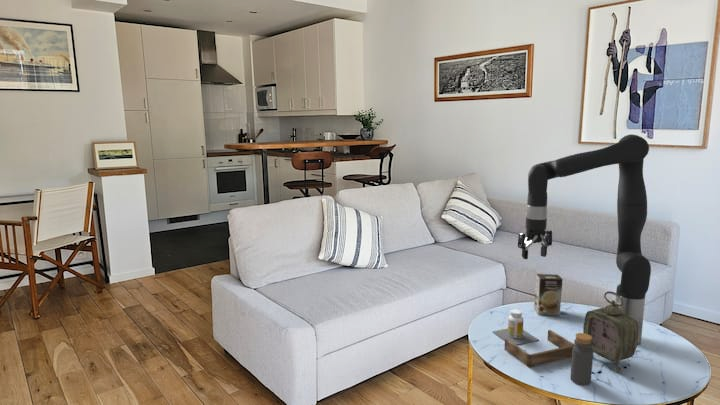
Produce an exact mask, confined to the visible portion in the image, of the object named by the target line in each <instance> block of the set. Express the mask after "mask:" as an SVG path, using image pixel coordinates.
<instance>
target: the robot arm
mask: <svg viewBox="0 0 720 405" xmlns="http://www.w3.org/2000/svg"><path fill="white" fill-rule="evenodd" d="M649 152H650V145H649V143H648V141H647V140H646V139H645V138H644V137H642V136H641V135H637V134H626V135H625V136H623V137H622V138H620V139H619V141H618V142H616V143H614V144H611V145H609V146H606V147H603V148H600V149H596V150H589V151H584V152H579V153H574V154H570V155H566V156H563V157H560V158H558V159H555V160H549V161H545V162H540V163H537V164H534V165H532V167H531V168H530V169H529V171H528V174H527V184H528V185H527V188H528V190H527V191H528V193H527V200H526V201H527V202H526V204H527V205H526V210H525V230H526V231H525V232H518V239H517V248H519V249H521V257H522V259H524V260H528V258H529V248H530V247H531V246H532V245H533V244H536V243H537V244H540V256H541V257H543V258H545V257H546V256H547V255H548V253H547V252H548V248H549V246H552V245H553V231H552V230H550V229H547V227H548V224H547V223H548V191H547V190H548V181H549V180H552V179H556V178H565V177H569V176H573V175H577V174H579V173H584V172H587V171H588V172H589V171H590V170H594V169H599V168H602V167H606V166H608V167H609V166H613V165H618V173H619V174H618V175H619V176H618V185H617V199H616V200H617V201H616V205H617V206H616V208H617V210H616V212H617V231H618V232H617V233H618V236H617V238H618V242H617V250H616V259H615V260H616V261H615V262H616V267H617V269H618V270H619V272H621V277H620V283H619V284H618V285H617V287H616V290H615V291H616V292H615V293H617V294H618V295H620V296H621V297H622V299H623V305H621V306H618V307H619V308H620V310H621V313H623V314H625V315H627V316H629V317H632V318H633V319H635V320H636V321H637V323H638V342H637V345H639V346H640V345H641V343H642V333H643V325H644V313H645V305H646V304H645V302H646V294H647V293H648V290H649V287H650V280H651V273H652V265H651V262H650V261H649V259H648V258H647V257H645V256H644V255H643V253H642V247H641V244H642V242H641V241H642V240H641V237H642V232H643V230H644V228H645V224H646V222H647V218H648V196H647V189H646V185H645V180H644V161H645V160H644V159H645V158H646V157H647V155H648V154H649ZM614 301H615V304H621V303H622V301H621V299H620V298H619V297H618V296H616V295H615V300H614Z"/></svg>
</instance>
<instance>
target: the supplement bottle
mask: <svg viewBox="0 0 720 405" xmlns="http://www.w3.org/2000/svg"><path fill="white" fill-rule="evenodd" d="M522 315H523V312H522V310H519V309H516V308H515V309H511V310H510V315H509V316H508V319H507V320H508V323H507V324H508V325H507V329H508V335H509V336H510V337H512V338H521V337H522V336H523V330H524V317H523V316H522Z"/></svg>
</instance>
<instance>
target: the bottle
mask: <svg viewBox="0 0 720 405" xmlns="http://www.w3.org/2000/svg"><path fill="white" fill-rule="evenodd" d="M573 341H574V342H573V344H575V346H574V347H573V349H572V358H571V363H570V364H571V365H570V380H571V382H573V383H574V384H576V385H580V386H589V385H591V381H592V371H593V362H594V361H593V360H594V352H593V350H592V349H591V347H592V342H591V341H592V336H590V335H588V334H585V333H583V332H578V333H576V334H575V339H574V340H573Z"/></svg>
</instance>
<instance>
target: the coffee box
mask: <svg viewBox="0 0 720 405" xmlns="http://www.w3.org/2000/svg"><path fill="white" fill-rule="evenodd" d="M535 277H536V278H535V289H534V290H535V291H534V302H533V303H534V304H533V311H535V313H536V314H537V316H539V315H540V316H560V315H561V305H562V304H561V303H562V291H563V278H562V277H561V276H560V275H559V274H553V273H552V274H549V273H548V274H547V273H536V275H535Z"/></svg>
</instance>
